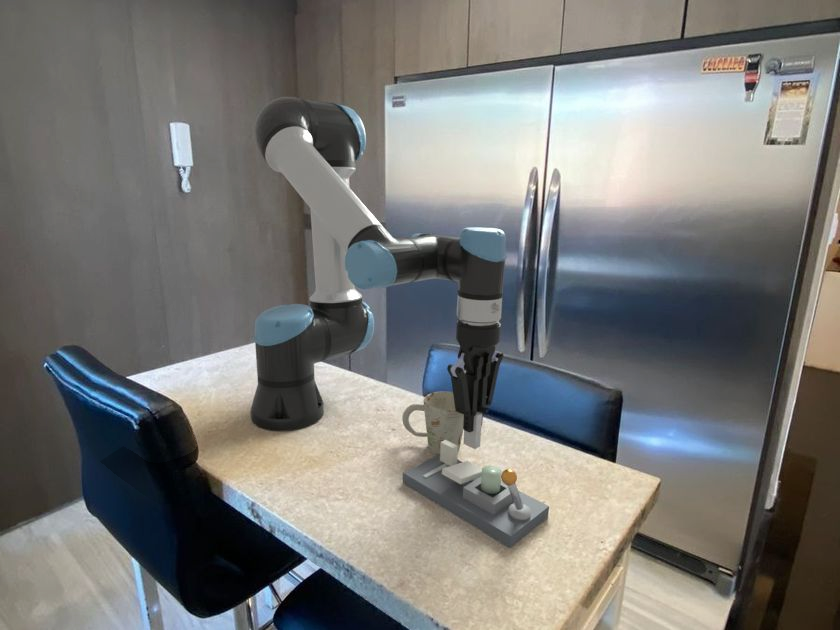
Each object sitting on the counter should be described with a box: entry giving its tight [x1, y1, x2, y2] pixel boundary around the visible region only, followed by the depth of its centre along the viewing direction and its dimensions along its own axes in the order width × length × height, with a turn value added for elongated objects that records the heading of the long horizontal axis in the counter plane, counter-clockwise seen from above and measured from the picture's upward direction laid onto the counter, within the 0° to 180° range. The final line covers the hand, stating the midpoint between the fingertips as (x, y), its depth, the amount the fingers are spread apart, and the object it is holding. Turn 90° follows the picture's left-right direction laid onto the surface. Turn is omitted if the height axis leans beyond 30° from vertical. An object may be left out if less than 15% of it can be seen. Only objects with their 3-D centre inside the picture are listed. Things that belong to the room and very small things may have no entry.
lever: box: [501, 468, 523, 510], centre depth 74 cm, size 2×2×8 cm
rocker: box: [442, 460, 483, 484], centre depth 84 cm, size 4×6×1 cm, turn 135°
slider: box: [440, 440, 458, 466], centre depth 89 cm, size 3×1×4 cm, turn 45°
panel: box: [402, 454, 550, 549], centre depth 83 cm, size 22×10×4 cm, turn 45°
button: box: [481, 465, 503, 494], centre depth 80 cm, size 3×3×3 cm
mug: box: [401, 390, 464, 455], centre depth 99 cm, size 8×13×10 cm, turn 78°
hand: (471, 445), depth 94 cm, fingers closed
